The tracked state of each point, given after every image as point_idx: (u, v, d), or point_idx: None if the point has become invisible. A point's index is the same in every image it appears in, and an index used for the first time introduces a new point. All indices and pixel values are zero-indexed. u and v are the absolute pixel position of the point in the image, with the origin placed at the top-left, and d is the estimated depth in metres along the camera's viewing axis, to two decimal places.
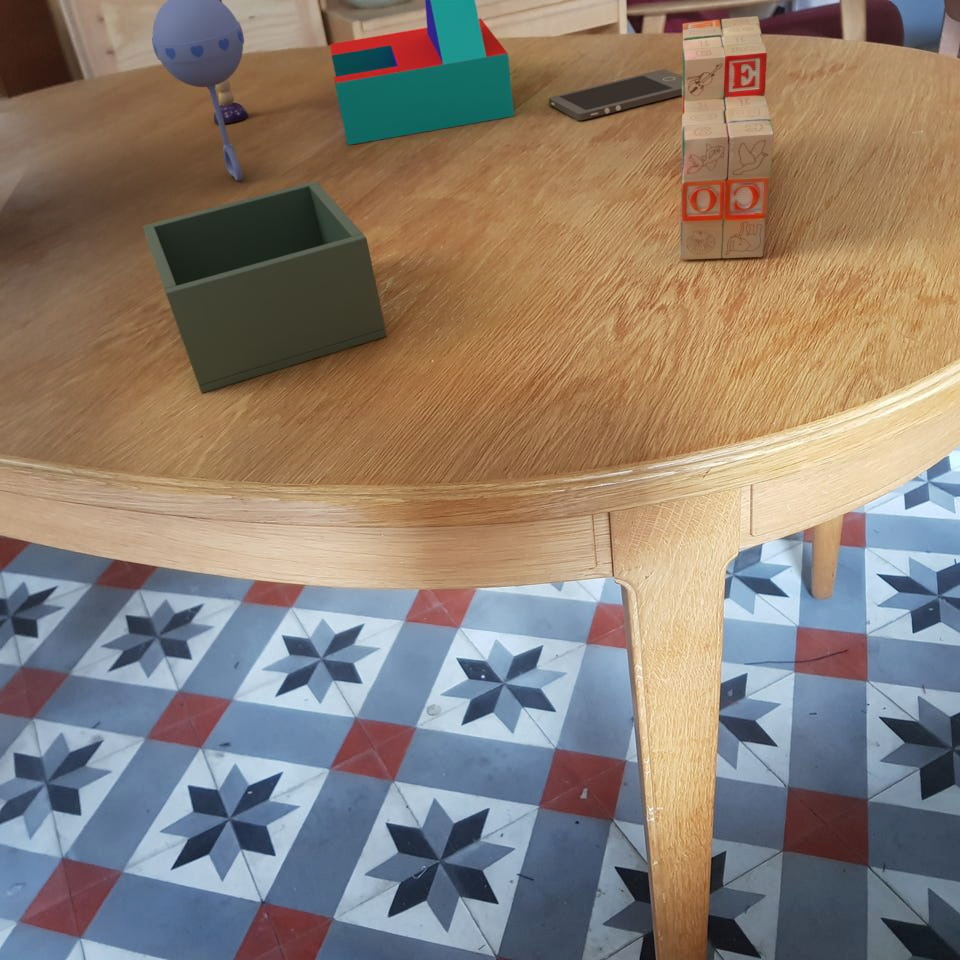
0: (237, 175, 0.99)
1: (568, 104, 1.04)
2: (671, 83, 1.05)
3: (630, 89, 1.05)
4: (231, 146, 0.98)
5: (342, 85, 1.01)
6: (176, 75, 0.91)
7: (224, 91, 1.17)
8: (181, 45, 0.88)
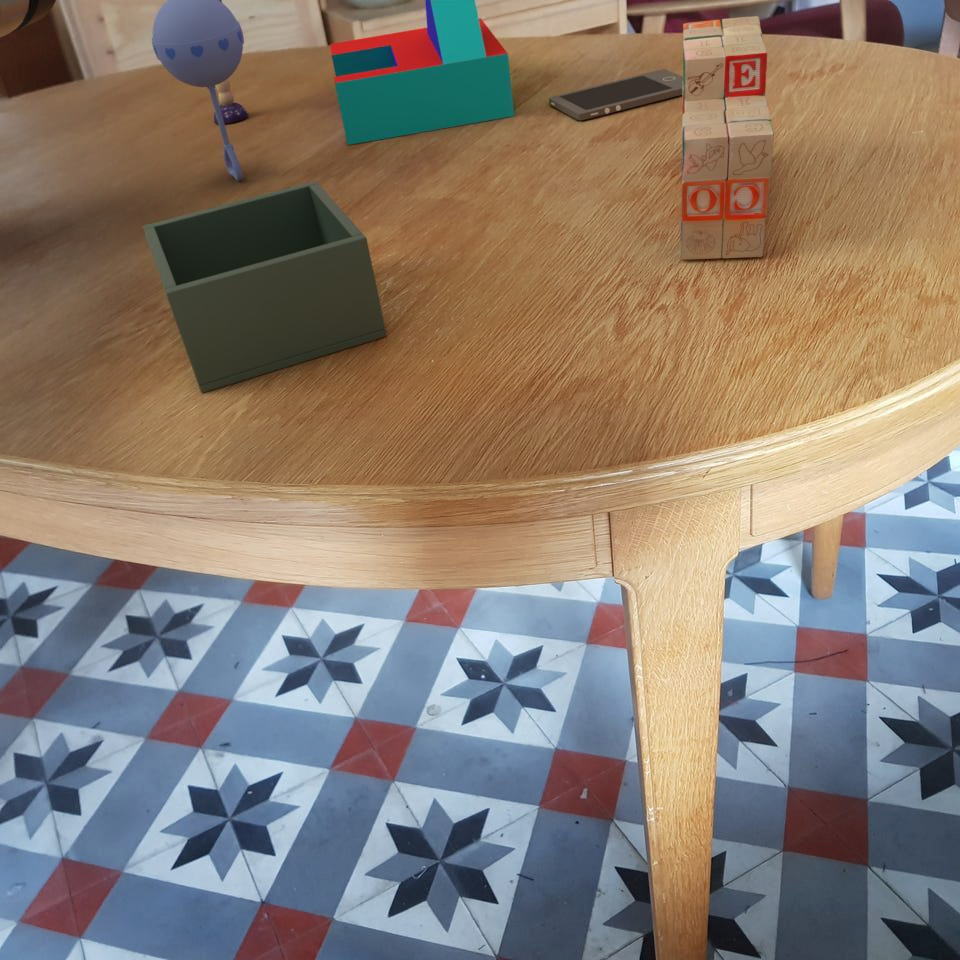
0: (237, 175, 0.99)
1: (568, 104, 1.04)
2: (671, 83, 1.05)
3: (630, 89, 1.05)
4: (231, 146, 0.98)
5: (341, 85, 1.01)
6: (176, 75, 0.91)
7: (224, 91, 1.17)
8: (180, 45, 0.88)
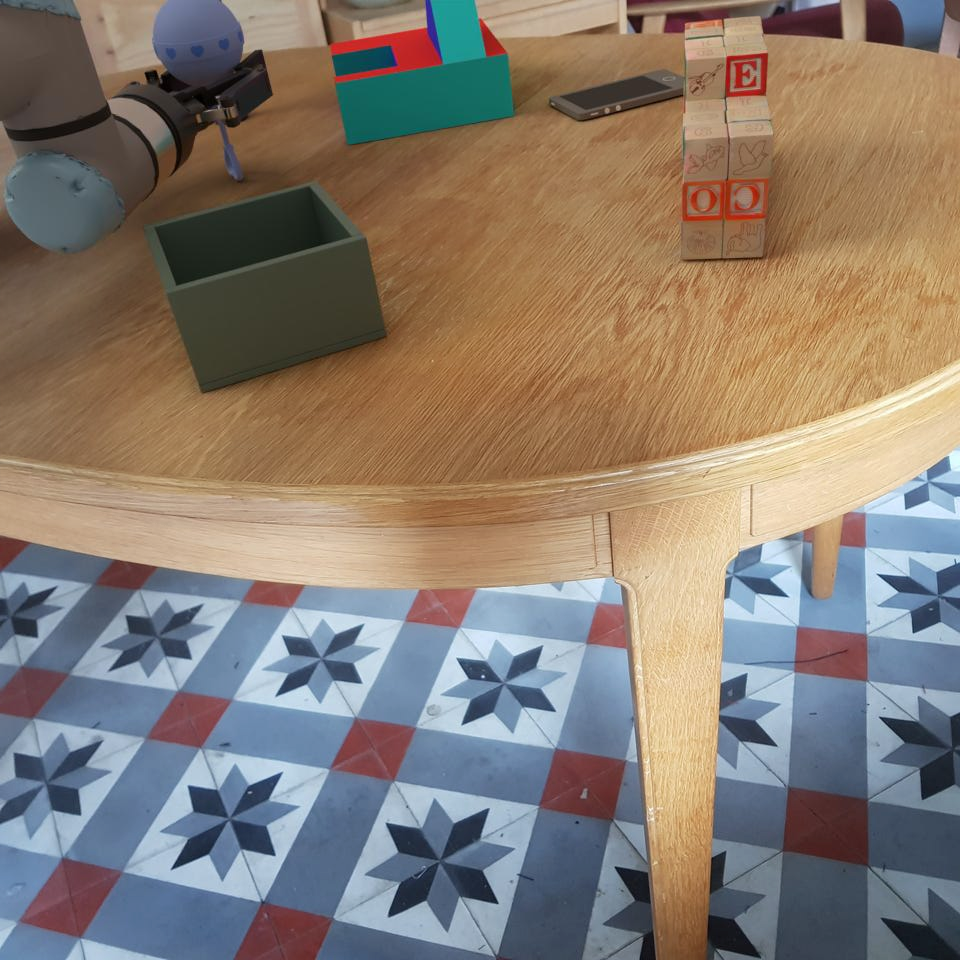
0: (237, 175, 0.99)
1: (568, 104, 1.04)
2: (671, 83, 1.05)
3: (630, 89, 1.05)
4: (231, 146, 0.98)
5: (341, 85, 1.01)
6: (176, 75, 0.91)
7: None
8: (181, 45, 0.88)
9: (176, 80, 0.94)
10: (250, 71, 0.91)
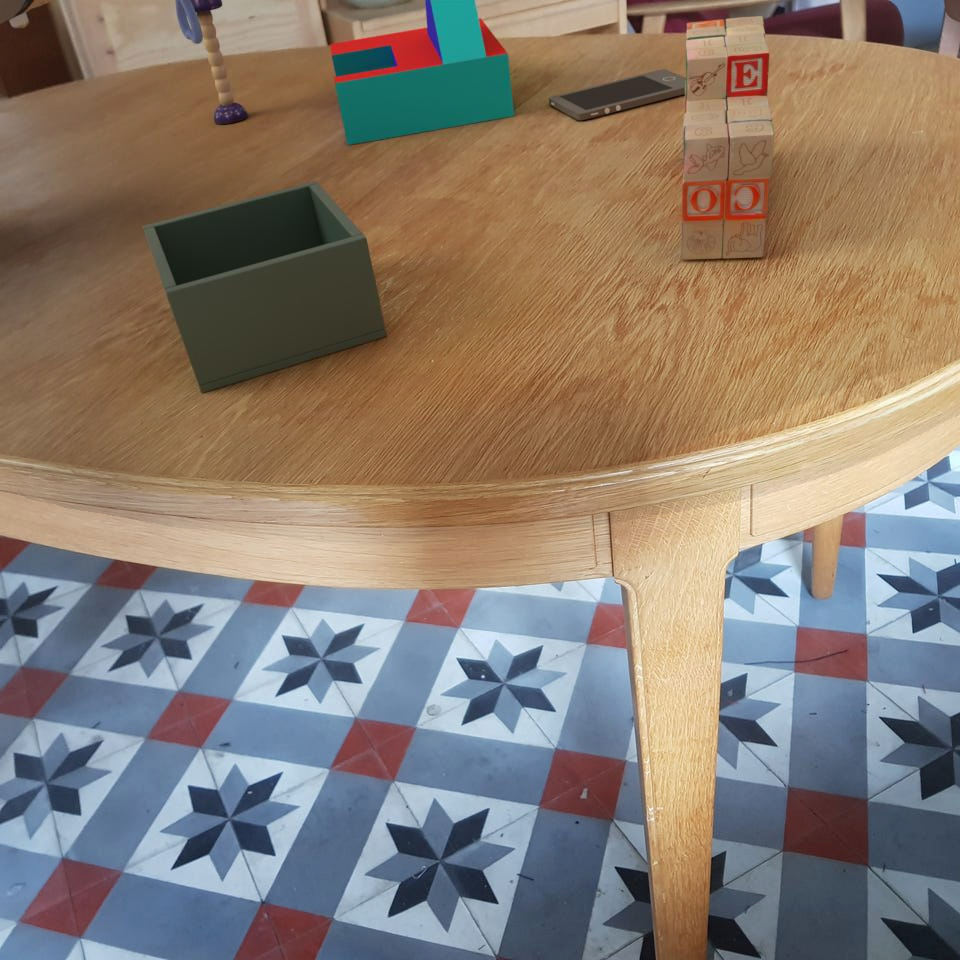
0: (194, 33, 0.68)
1: (568, 104, 1.04)
2: (671, 83, 1.05)
3: (630, 89, 1.05)
4: None
5: (342, 85, 1.01)
6: None
7: (224, 91, 1.17)
8: None
9: None
10: None
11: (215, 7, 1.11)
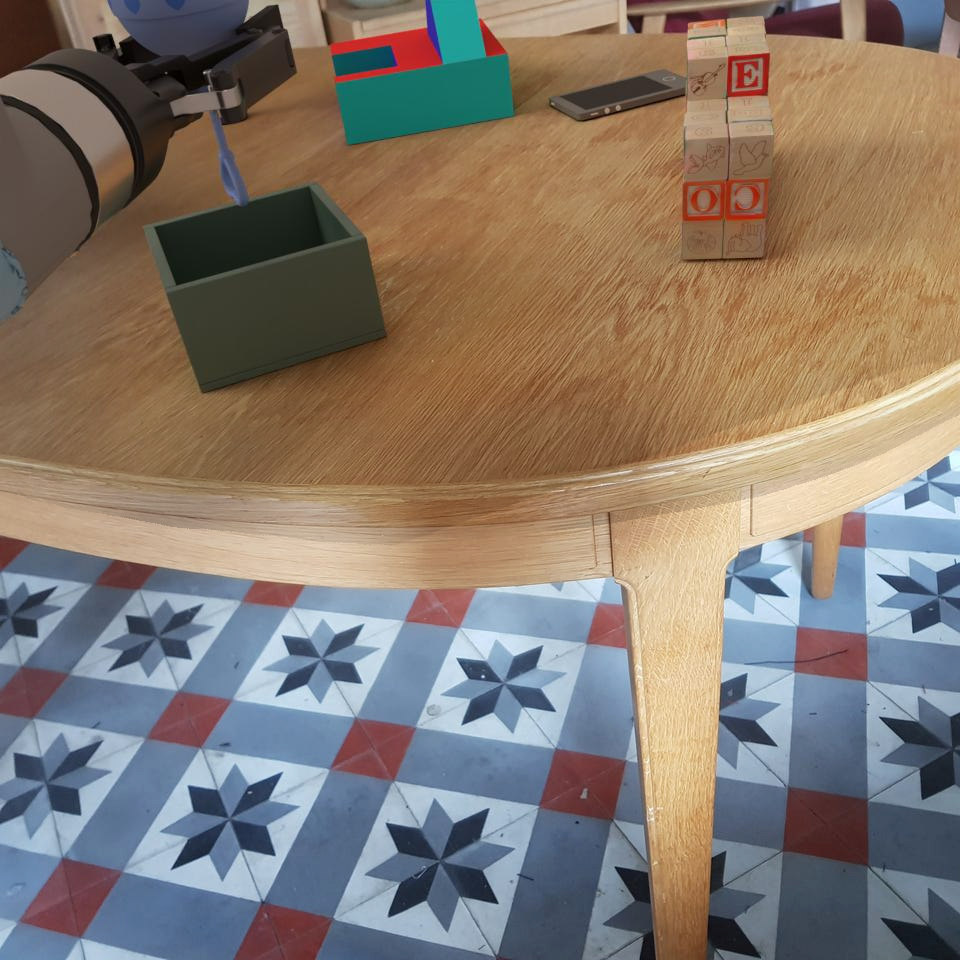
0: (240, 198, 0.64)
1: (568, 104, 1.04)
2: (671, 83, 1.05)
3: (630, 89, 1.05)
4: (231, 154, 0.64)
5: (342, 85, 1.01)
6: (143, 41, 0.57)
7: None
8: None
9: (144, 51, 0.60)
10: (261, 34, 0.57)
11: None
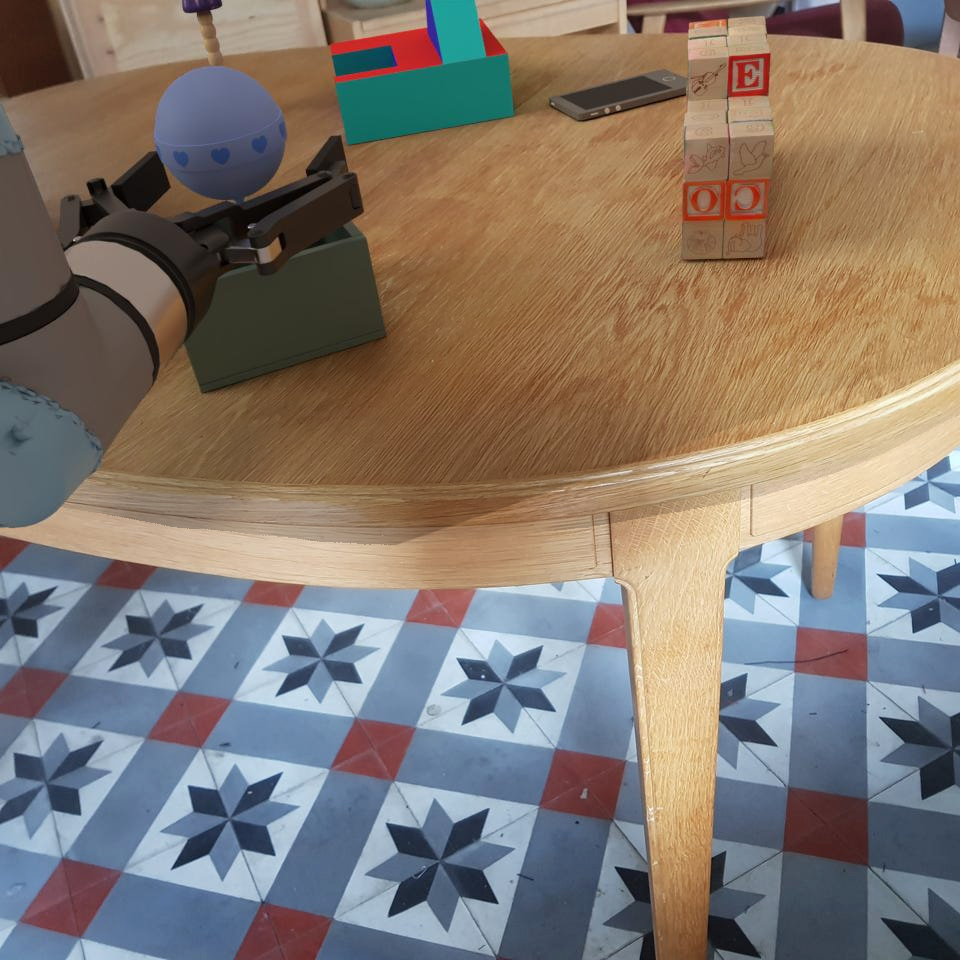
0: None
1: (568, 104, 1.04)
2: (671, 83, 1.05)
3: (630, 89, 1.05)
4: None
5: (341, 85, 1.01)
6: (189, 186, 0.62)
7: None
8: (196, 148, 0.59)
9: (135, 190, 0.64)
10: (329, 178, 0.60)
11: (215, 7, 1.11)
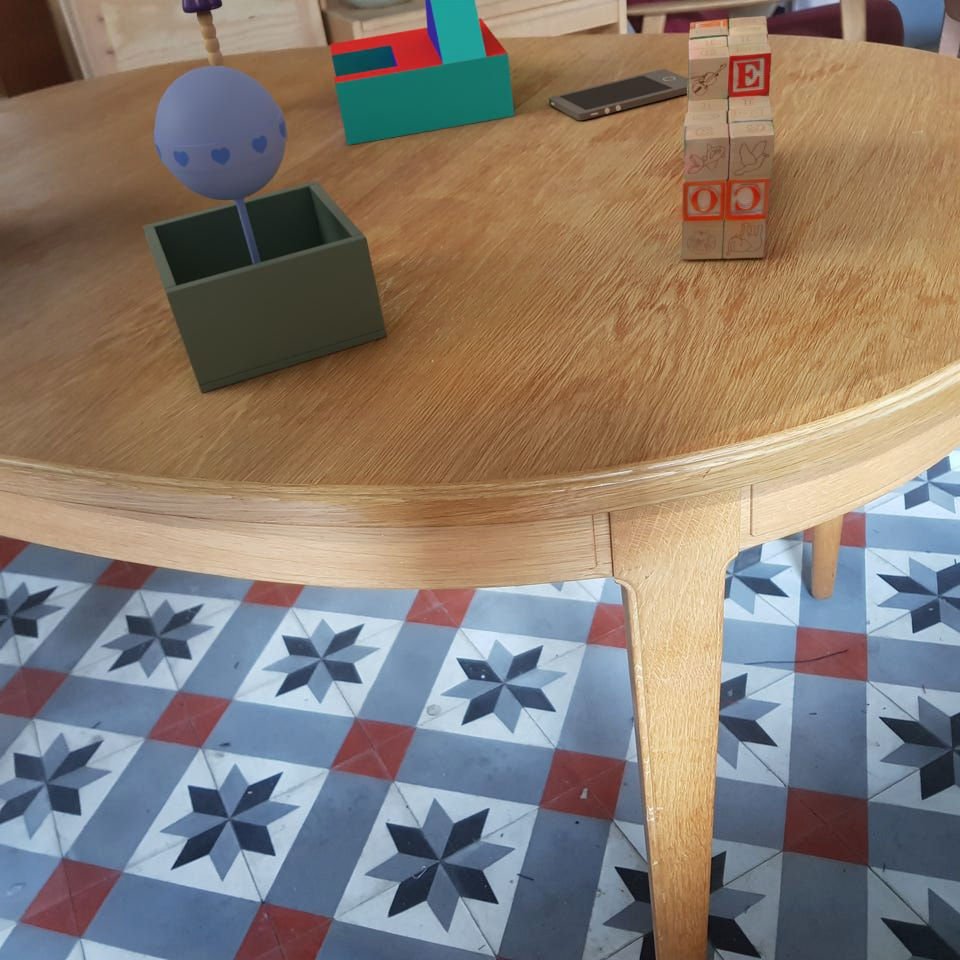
0: None
1: (568, 104, 1.04)
2: (671, 83, 1.05)
3: (630, 89, 1.05)
4: None
5: (342, 85, 1.01)
6: (189, 186, 0.62)
7: None
8: (196, 148, 0.59)
9: None
10: None
11: (215, 7, 1.11)
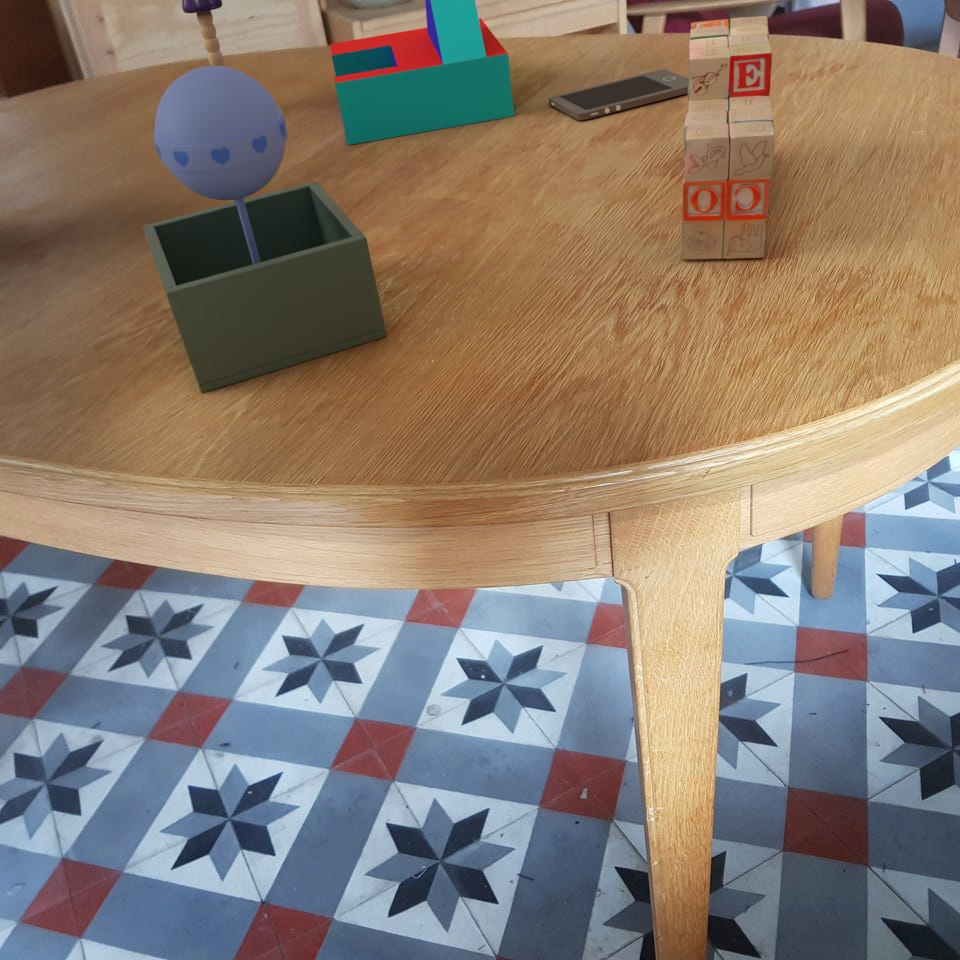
0: None
1: (568, 104, 1.04)
2: (671, 83, 1.05)
3: (630, 89, 1.05)
4: None
5: (342, 85, 1.01)
6: (189, 186, 0.62)
7: None
8: (196, 148, 0.59)
9: None
10: None
11: (215, 7, 1.11)
